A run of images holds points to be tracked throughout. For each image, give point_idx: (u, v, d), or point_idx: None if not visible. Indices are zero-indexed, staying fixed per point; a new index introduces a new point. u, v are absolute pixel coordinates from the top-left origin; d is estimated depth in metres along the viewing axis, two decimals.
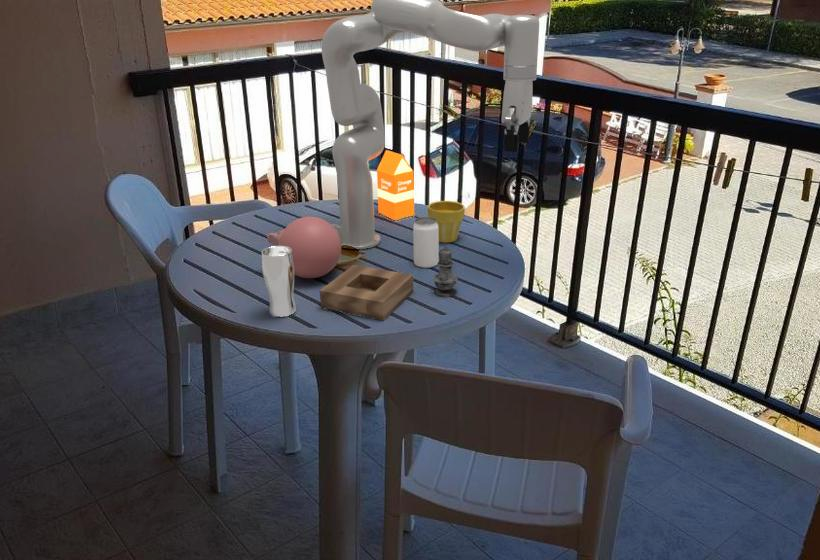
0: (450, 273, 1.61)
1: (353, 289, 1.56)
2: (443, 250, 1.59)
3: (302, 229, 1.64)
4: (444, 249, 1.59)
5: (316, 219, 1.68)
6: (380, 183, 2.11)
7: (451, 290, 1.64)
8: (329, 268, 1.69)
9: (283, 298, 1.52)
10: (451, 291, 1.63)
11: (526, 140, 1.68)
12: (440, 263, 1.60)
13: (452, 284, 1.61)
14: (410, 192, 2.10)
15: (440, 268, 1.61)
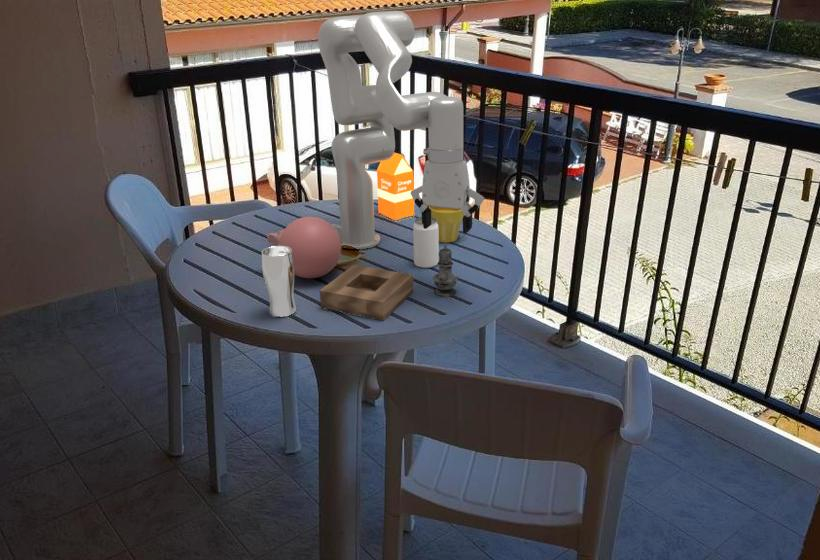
0: (450, 273, 1.61)
1: (353, 289, 1.56)
2: (443, 250, 1.59)
3: (302, 229, 1.64)
4: (444, 249, 1.59)
5: (316, 219, 1.68)
6: (380, 183, 2.11)
7: (451, 290, 1.64)
8: (329, 268, 1.69)
9: (283, 298, 1.52)
10: (451, 291, 1.63)
11: (430, 222, 1.59)
12: (440, 263, 1.60)
13: (452, 284, 1.61)
14: None
15: (440, 268, 1.61)
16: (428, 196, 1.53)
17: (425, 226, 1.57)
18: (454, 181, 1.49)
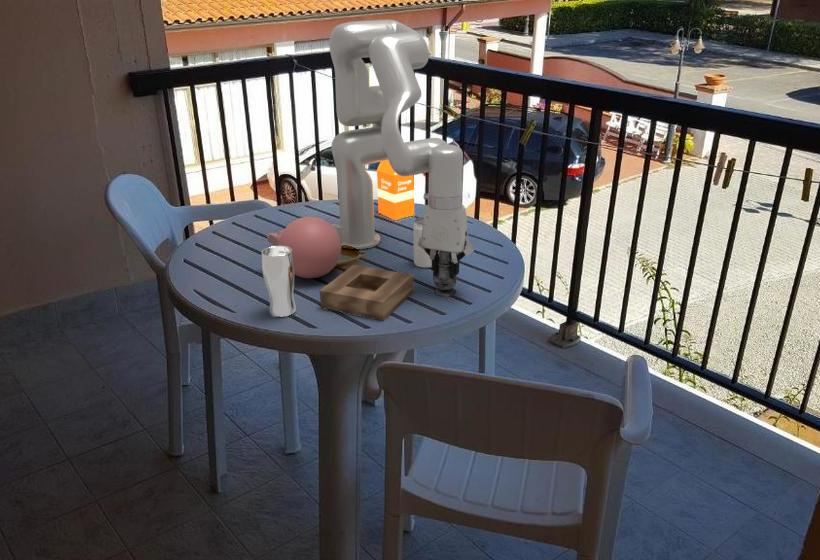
0: None
1: (353, 289, 1.56)
2: None
3: (302, 229, 1.64)
4: None
5: (316, 219, 1.68)
6: (380, 183, 2.11)
7: (451, 290, 1.63)
8: (329, 268, 1.69)
9: (283, 298, 1.52)
10: (451, 291, 1.63)
11: None
12: (440, 263, 1.60)
13: (452, 284, 1.61)
14: (410, 192, 2.10)
15: (440, 268, 1.61)
16: (427, 239, 1.57)
17: (434, 273, 1.62)
18: (453, 226, 1.53)
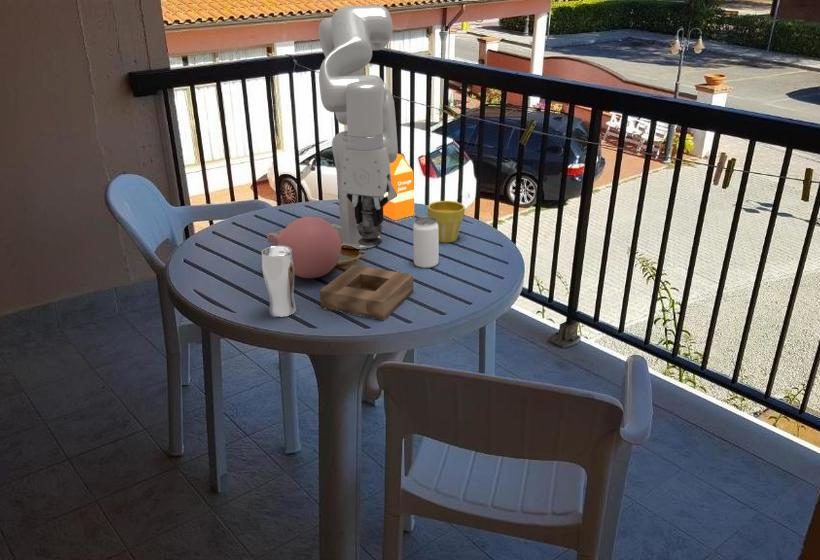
0: None
1: (353, 289, 1.56)
2: (365, 196, 1.50)
3: (302, 229, 1.64)
4: None
5: (316, 219, 1.68)
6: None
7: (376, 239, 1.55)
8: (329, 268, 1.69)
9: (283, 298, 1.52)
10: (376, 240, 1.54)
11: None
12: (363, 210, 1.51)
13: (376, 232, 1.52)
14: (410, 192, 2.10)
15: (363, 215, 1.51)
16: (348, 184, 1.48)
17: (358, 221, 1.53)
18: (373, 169, 1.44)
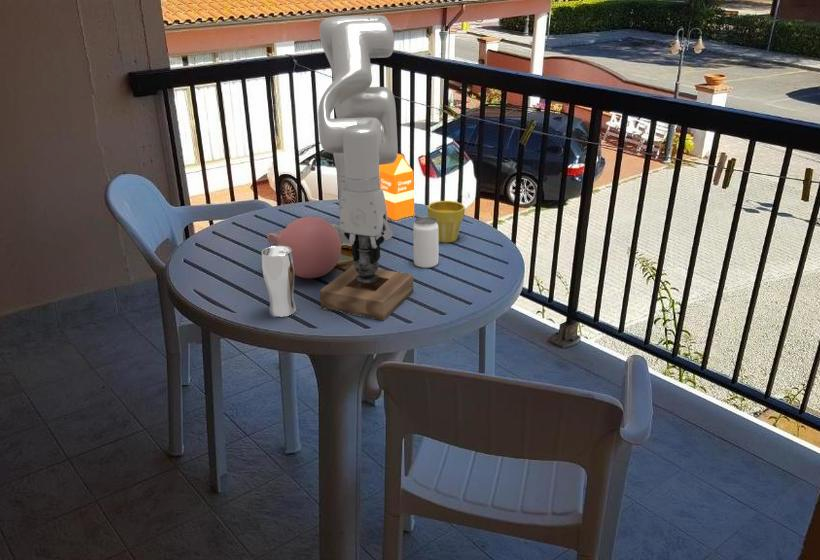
0: None
1: (353, 289, 1.56)
2: None
3: (302, 229, 1.64)
4: None
5: (316, 219, 1.68)
6: (380, 183, 2.11)
7: (373, 276, 1.58)
8: (329, 268, 1.69)
9: (283, 298, 1.52)
10: (373, 277, 1.57)
11: None
12: (360, 248, 1.55)
13: (373, 270, 1.56)
14: (410, 192, 2.10)
15: (360, 253, 1.55)
16: (345, 223, 1.52)
17: (355, 258, 1.56)
18: (370, 210, 1.48)
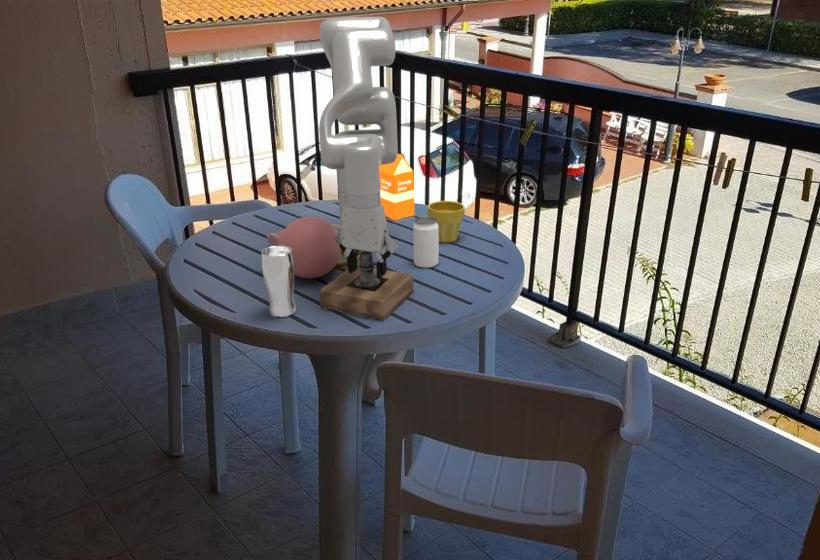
0: (371, 276, 1.57)
1: (353, 289, 1.56)
2: (363, 253, 1.56)
3: (302, 229, 1.64)
4: (365, 251, 1.56)
5: (316, 219, 1.68)
6: (380, 183, 2.11)
7: None
8: (329, 268, 1.69)
9: (283, 298, 1.52)
10: None
11: (356, 266, 1.60)
12: (361, 266, 1.57)
13: (373, 288, 1.57)
14: (410, 192, 2.10)
15: (361, 271, 1.57)
16: (346, 239, 1.53)
17: (350, 270, 1.58)
18: (370, 225, 1.49)
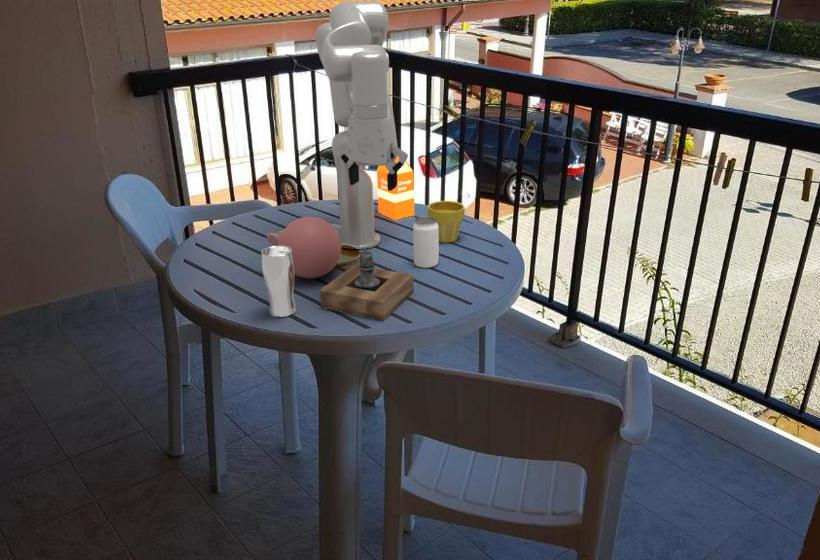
0: (371, 276, 1.57)
1: (353, 289, 1.56)
2: (363, 253, 1.55)
3: (302, 229, 1.64)
4: (364, 252, 1.56)
5: (316, 219, 1.68)
6: (380, 183, 2.11)
7: None
8: (329, 268, 1.69)
9: (283, 298, 1.52)
10: None
11: (358, 179, 1.59)
12: (361, 266, 1.57)
13: (373, 288, 1.57)
14: (410, 192, 2.10)
15: (361, 271, 1.57)
16: (352, 152, 1.52)
17: (351, 182, 1.57)
18: (377, 137, 1.48)
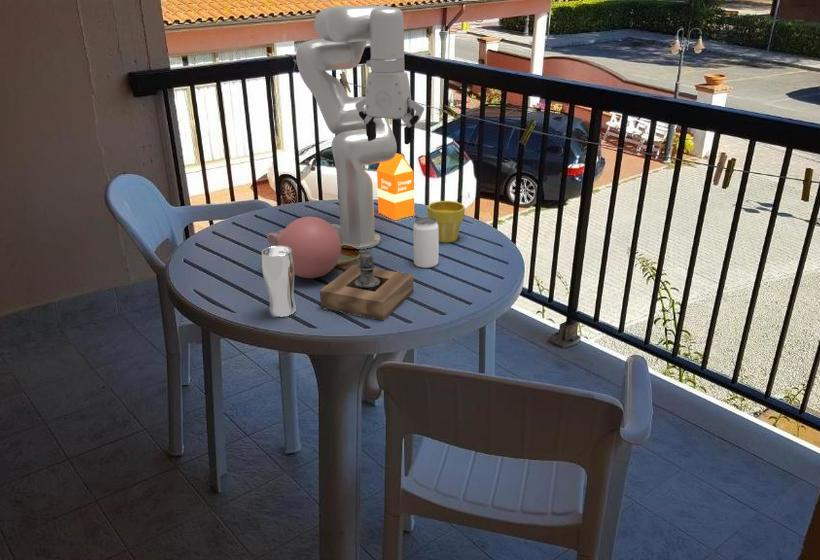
0: (371, 276, 1.57)
1: (353, 289, 1.56)
2: (363, 253, 1.55)
3: (302, 229, 1.64)
4: (365, 252, 1.56)
5: (316, 219, 1.68)
6: (380, 183, 2.11)
7: None
8: (329, 268, 1.69)
9: (283, 298, 1.52)
10: None
11: (375, 136, 1.65)
12: (361, 266, 1.57)
13: (373, 288, 1.57)
14: (410, 192, 2.10)
15: (361, 271, 1.57)
16: (370, 107, 1.58)
17: (369, 138, 1.63)
18: (395, 91, 1.54)
